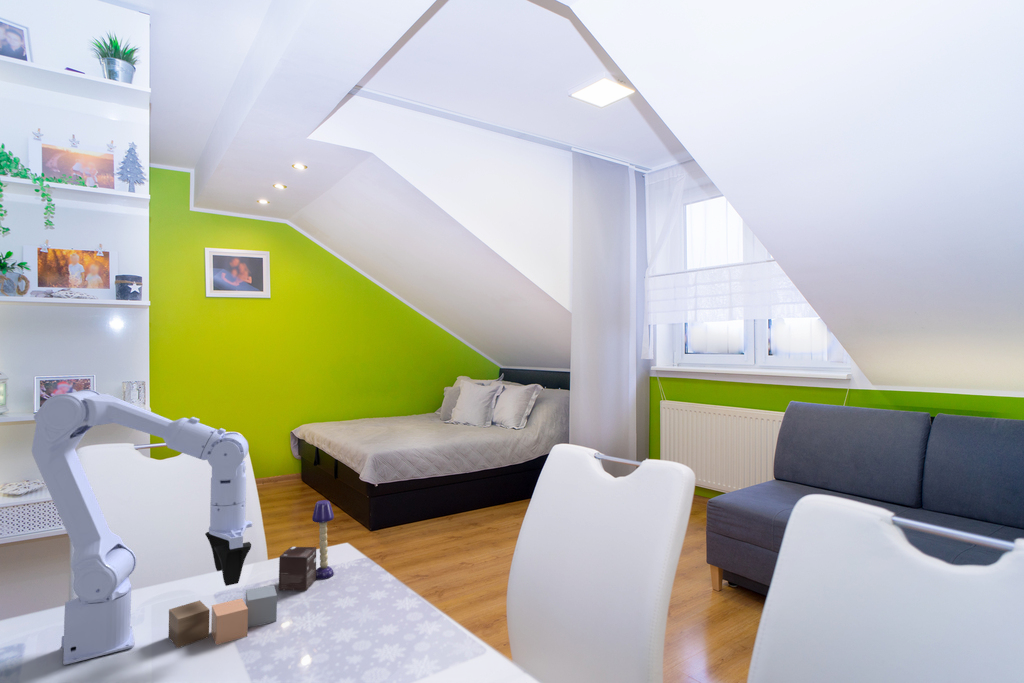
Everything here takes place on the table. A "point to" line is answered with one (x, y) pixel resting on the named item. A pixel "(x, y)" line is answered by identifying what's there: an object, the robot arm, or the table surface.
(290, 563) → the box
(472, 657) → the table surface
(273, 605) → the slate block
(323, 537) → the toy lamp
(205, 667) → the table surface
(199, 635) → the walnut block
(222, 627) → the terracotta block
